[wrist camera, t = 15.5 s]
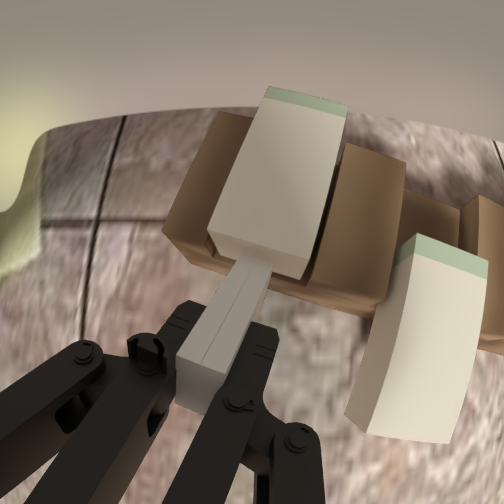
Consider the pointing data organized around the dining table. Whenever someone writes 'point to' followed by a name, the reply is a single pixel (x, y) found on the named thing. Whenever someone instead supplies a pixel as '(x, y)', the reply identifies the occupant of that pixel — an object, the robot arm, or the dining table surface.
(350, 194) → the brown wooden slotted rack
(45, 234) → the dining table surface
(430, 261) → the button middle
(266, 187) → the button
